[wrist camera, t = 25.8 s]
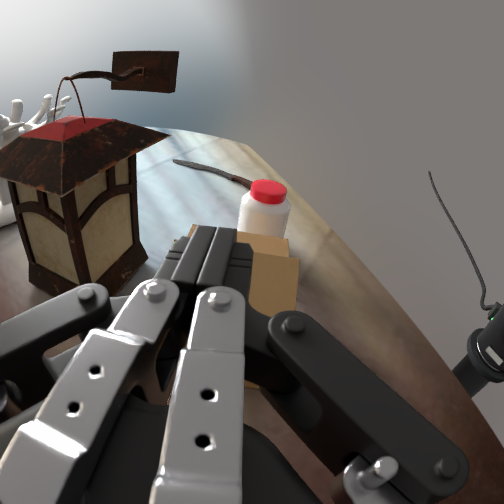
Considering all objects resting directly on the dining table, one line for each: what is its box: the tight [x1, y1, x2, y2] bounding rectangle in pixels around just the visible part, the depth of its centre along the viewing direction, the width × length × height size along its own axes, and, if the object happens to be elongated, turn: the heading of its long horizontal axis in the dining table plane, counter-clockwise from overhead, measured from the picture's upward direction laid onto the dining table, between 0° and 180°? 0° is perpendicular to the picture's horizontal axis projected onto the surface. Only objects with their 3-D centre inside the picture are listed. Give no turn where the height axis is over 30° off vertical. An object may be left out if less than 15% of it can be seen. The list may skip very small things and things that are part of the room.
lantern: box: [0, 51, 179, 297], centre depth 36 cm, size 18×26×30 cm
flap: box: [174, 240, 300, 317], centre depth 27 cm, size 7×12×1 cm
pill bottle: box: [237, 179, 290, 238], centre depth 50 cm, size 8×8×11 cm
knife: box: [173, 159, 253, 189], centre depth 74 cm, size 28×1×5 cm
